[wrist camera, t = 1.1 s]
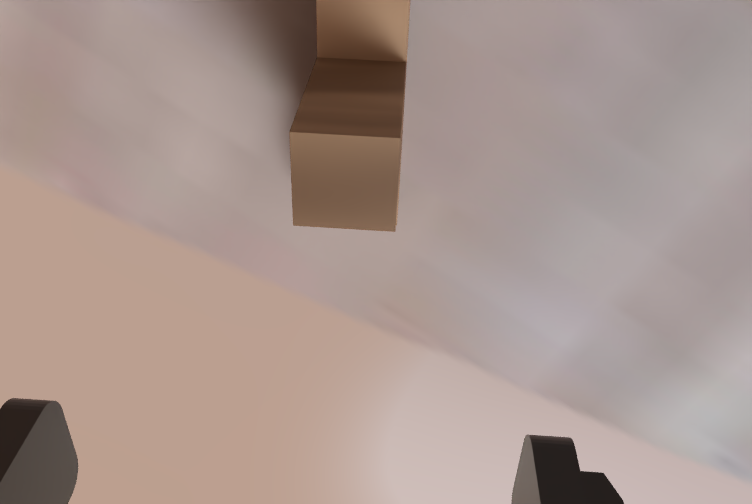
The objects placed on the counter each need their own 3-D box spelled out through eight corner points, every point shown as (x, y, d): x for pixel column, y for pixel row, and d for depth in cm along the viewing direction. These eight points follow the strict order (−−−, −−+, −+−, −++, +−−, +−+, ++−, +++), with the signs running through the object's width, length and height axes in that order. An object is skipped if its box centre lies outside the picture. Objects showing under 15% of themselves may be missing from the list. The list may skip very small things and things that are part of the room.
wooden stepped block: (324, -69, 24) (284, -1, 17) (414, -64, 24) (408, 5, 17) (326, 192, 30) (296, 316, 23) (398, 196, 29) (390, 323, 23)
